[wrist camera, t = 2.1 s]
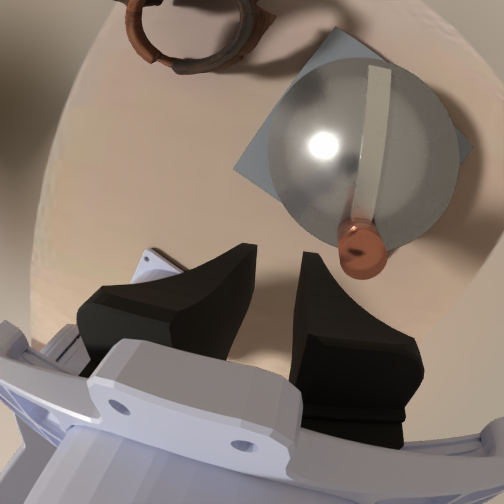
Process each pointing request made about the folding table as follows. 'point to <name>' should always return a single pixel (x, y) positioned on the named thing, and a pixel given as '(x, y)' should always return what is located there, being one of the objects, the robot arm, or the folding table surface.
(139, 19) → the brown curved ring
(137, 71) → the folding table surface
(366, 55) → the wheel base
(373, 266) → the handwheel
